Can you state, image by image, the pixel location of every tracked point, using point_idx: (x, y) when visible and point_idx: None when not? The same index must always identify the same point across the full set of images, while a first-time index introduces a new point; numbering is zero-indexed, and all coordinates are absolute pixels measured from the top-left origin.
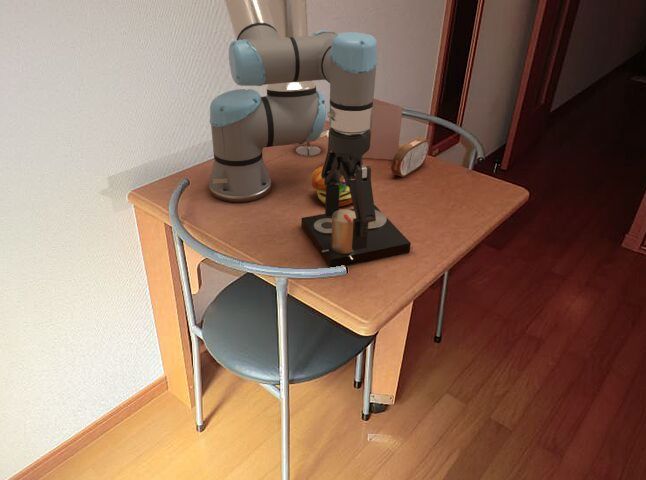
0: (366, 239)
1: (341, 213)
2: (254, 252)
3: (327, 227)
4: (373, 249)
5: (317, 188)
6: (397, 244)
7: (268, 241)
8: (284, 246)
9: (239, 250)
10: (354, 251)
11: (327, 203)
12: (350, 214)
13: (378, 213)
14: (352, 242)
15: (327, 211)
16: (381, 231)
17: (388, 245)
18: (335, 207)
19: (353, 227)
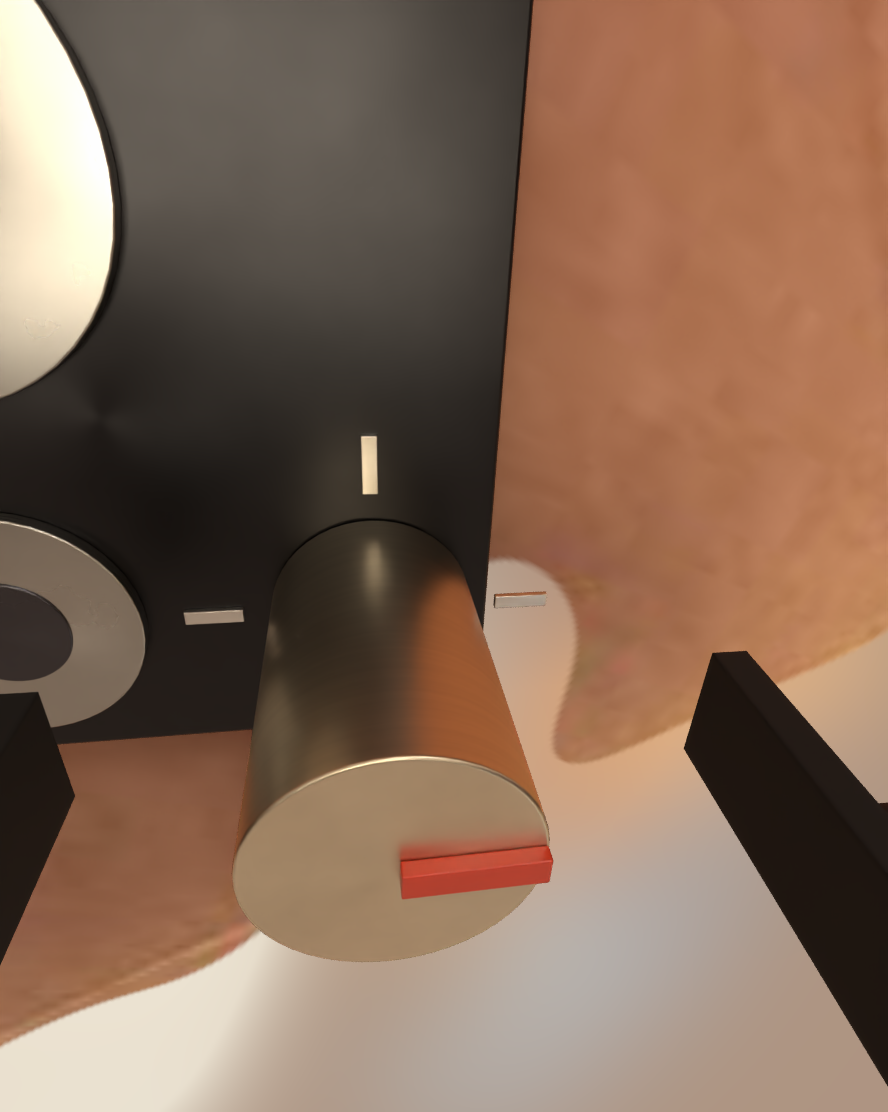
0: (798, 719)
1: (335, 894)
2: (176, 925)
3: (49, 645)
4: (486, 389)
5: None
6: (506, 84)
7: (70, 871)
8: (142, 814)
9: (143, 969)
10: (452, 548)
11: (2, 944)
12: (392, 822)
13: None
14: (721, 799)
15: (51, 841)
16: (185, 124)
17: (484, 206)
18: (7, 802)
19: (824, 965)
